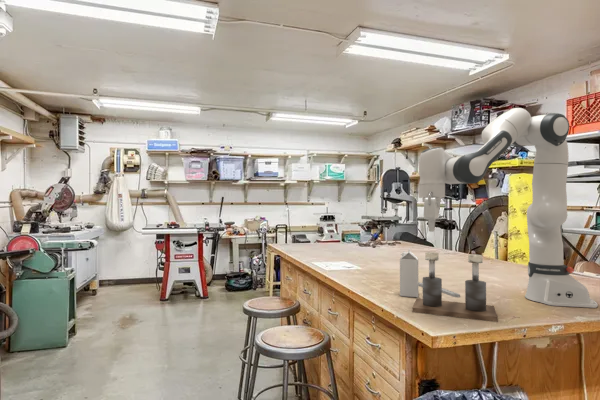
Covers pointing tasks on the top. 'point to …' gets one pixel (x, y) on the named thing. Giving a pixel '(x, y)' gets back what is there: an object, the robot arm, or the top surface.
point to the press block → (469, 309)
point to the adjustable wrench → (444, 291)
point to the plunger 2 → (475, 265)
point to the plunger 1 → (431, 262)
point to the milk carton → (409, 274)
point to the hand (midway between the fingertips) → (431, 231)
